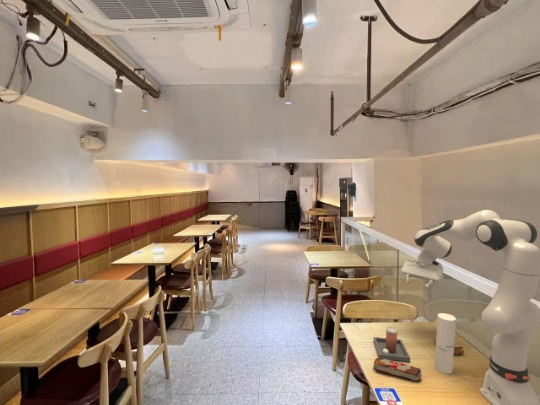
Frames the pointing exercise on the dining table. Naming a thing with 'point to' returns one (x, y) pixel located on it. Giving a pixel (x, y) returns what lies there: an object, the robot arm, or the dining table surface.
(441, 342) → the cylindrical container
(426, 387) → the dining table surface
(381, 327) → the dining table surface
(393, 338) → the shaker
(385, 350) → the mixing ball
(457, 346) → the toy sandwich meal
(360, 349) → the dining table surface
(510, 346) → the robot arm
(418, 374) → the pencil case
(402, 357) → the tray
